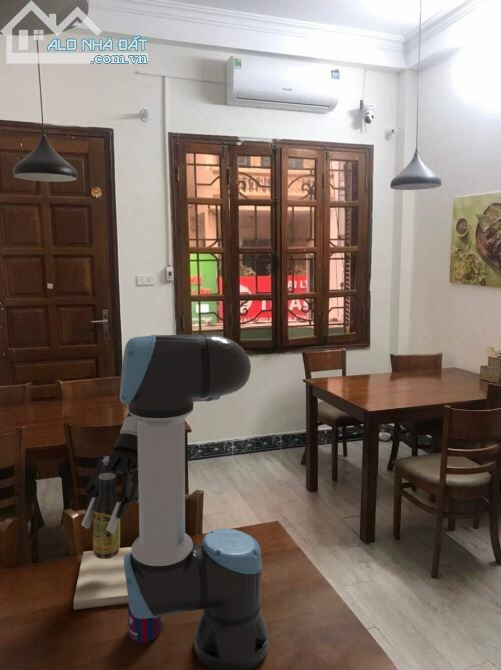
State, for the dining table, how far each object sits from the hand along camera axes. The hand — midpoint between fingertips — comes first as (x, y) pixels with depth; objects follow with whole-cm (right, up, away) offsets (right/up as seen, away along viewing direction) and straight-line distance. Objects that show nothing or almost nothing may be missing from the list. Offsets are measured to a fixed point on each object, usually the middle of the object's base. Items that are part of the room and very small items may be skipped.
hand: (97, 529), depth 119 cm
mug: (+14, -18, -9) cm, 25 cm away
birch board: (+1, -15, +7) cm, 17 cm away
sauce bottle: (+1, -8, +5) cm, 9 cm away
